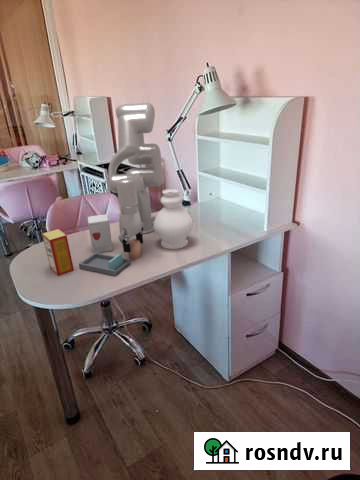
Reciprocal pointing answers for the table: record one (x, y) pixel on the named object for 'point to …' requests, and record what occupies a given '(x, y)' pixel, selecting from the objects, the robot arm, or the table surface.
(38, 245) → the table surface
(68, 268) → the baking soda box
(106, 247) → the supplement box
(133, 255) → the tan egg shape
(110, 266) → the plate
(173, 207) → the decorative vase
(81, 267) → the pusher lane
